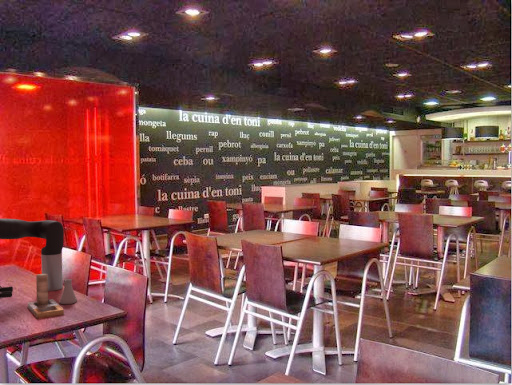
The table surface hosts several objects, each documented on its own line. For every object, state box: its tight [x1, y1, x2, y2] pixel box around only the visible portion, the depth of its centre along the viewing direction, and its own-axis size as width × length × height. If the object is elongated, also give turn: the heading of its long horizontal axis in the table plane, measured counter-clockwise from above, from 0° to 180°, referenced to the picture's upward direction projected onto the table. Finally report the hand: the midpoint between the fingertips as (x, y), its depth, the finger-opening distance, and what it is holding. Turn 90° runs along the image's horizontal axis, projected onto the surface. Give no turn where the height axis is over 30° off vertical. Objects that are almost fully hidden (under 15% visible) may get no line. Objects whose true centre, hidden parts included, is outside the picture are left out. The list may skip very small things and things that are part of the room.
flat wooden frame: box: [27, 298, 65, 320], centre depth 206 cm, size 19×10×2 cm, turn 35°
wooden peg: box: [35, 273, 49, 306], centre depth 210 cm, size 4×4×14 cm
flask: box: [59, 278, 78, 305], centre depth 219 cm, size 7×7×10 cm
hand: (12, 291), depth 205 cm, fingers open, 8 cm apart
